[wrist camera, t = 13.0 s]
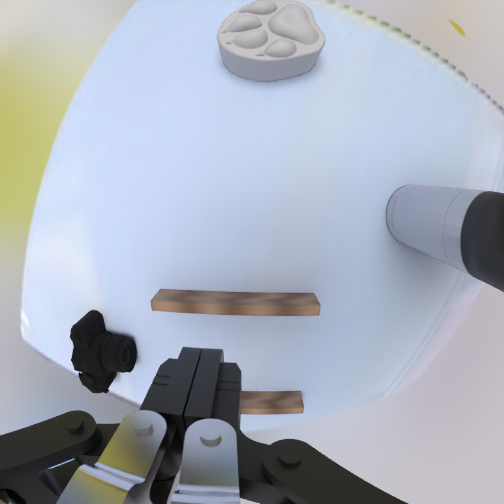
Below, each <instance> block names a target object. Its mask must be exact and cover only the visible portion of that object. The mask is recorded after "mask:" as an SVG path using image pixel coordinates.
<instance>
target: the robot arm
mask: <svg viewBox="0 0 504 504" xmlns="http://www.w3.org/2000/svg"><path fill="white" fill-rule="evenodd" d="M386 219H387V225H388V228H389V230H390V232H391V234H392V235H393V236H394V237H395V239H396V240H398V241H400V242H401V243H404V244H406V245H408V246H410V247H413V248H414V249H417V250H419V251H421V252H423V253H426V254H428V255H430V256H432V257H434V258H436V259H438V260H441V261H443V262H445V263H447V264H449V265H451V266H453V267H455V268H457V269H459V270H461V271H463V272H465V273H467V274H469V275H471V276H473V277H475V278H477V279H479V280H481V281H483V282H485V283H487V284H490V285H491V286H493V287H495V288H497V289H499V290H501V291H503V292H504V194H503V193H499V192H491V191H481V190H470V189H460V188H448V187H435V186H420V185H406V186H403V187H401V188H399V189H398V190H396V192H395V193H394V194H393V195H392V197H391V198H390V200H389V203H388V206H387V212H386ZM240 417H241V370H240V369H239V367H238V365H237V364H236V363H225V362H224V354H223V349H207V348H204V349H202V348H191V347H183V348H182V350H181V353H180V355H179V357H178V359H171V358H169V359H168V360H166V361H165V362H164V363H163V364H162V365H160V367H159V369H158V371H157V373H156V376H155V378H154V380H153V383H152V384H151V386H150V388H149V390H148V393H147V395H146V397H145V399H144V401H143V403H142V405H141V408H140V410H139V411H135V412H132V413H130V414H128V415H127V416H126V417H125V418H124V419H123V420H122V422H121V423H119V424H96V422H95V420H94V418H93V417H92V416H91V415H90V414H88V413H87V412H84V411H70V412H67V413H64V414H62V415H59V416H56V417H54V418H51V419H48V420H46V421H43V422H40V423H37V424H34V425H31V426H29V427H26V428H23V429H20V430H17V431H14V432H10V433H7V434H4V435H0V504H240V498H243V499H246V500H249V501H253V502H257V503H260V504H408V503H406V502H404V501H402V500H400V499H397V498H396V497H393V496H392V495H390V494H388V493H386V492H384V491H382V490H380V489H378V488H377V487H375V486H373V485H371V484H370V483H368V482H366V481H364V480H363V479H361V478H359V477H358V476H356V475H354V474H353V473H351V472H349V471H348V470H346V469H345V468H343V467H341V466H340V465H338V464H337V463H335V462H334V461H332V460H331V459H329V458H328V457H326V456H325V455H323V454H322V453H320V452H319V451H317V450H316V449H315V448H313V447H312V446H310V445H309V444H307V443H306V442H303V441H300V440H295V439H284V440H279V441H277V442H274V443H272V444H271V445H267V444H263V443H259V442H256V441H253V440H251V439H249V438H248V437H246V436H245V435H244V434H243V433H242V432H241V430H240ZM73 458H74V459H75V460H72V461H70V462H68V463H65V464H62V465H60V466H57V467H55V468H52V469H47V468H50V467H52V466H55V465H58V464H60V463H63V462H65V461H68V460H70V459H73ZM180 467H181V468H180ZM178 483H179V487H178V490H177V491H176V489H177V486H178Z"/></svg>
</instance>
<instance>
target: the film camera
mask: <svg viewBox="0 0 504 504" xmlns="http://www.w3.org/2000/svg"><path fill="white" fill-rule="evenodd" d="M70 338H71V340H72V341H73V345H74V349H73V353H72V359H71V361H72V363H73V366H74V370H76V371H79V378H80V380H81V382H82V384H83V385H84V386H86V387H87V388H88V389H89V390H90V391H91V392H92V393H102V392H104V393H107V392H108V391H109V390H108V388H109V386H110V385H111V383H112V382H113V380H114V379H115V377H116V375H117V374H116V371H117V372H122V373H124V372H131V371H132V370H133V368H134V366H135V363H136V353H137V351H136V346H135V343H134V341H133V340H130V339H127V338H126V337H119V336H116V335H112V334H111V333H107V332H106V329H105V324H104V319H103V316H102V314H101V313H99V312H98V311H94V310H92V311H90V312H88V313H87V314H86V315H85V316H84V317H83V318H82V319H80V320H79V321H78V322H77V323H76V324H74V325H73V327H72V328H71V334H70ZM80 372H82V374H81V373H80Z"/></svg>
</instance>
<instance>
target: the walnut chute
mask: <svg viewBox="0 0 504 504" xmlns="http://www.w3.org/2000/svg"><path fill="white" fill-rule="evenodd" d="M151 307H152V310H153V311H166V312H180V313H197V314H218V315H250V316H318V315H319V313H320V304H319V302H318V300H317V298H316V296H315V294H314V293H251V292H215V291H190V290H170V289H160V290H159V291H158V293H157V294H156V295H155V296H154V297H153V298H152V300H151ZM303 410H304V405H303V400H302V395H301V391H283V392H247V391H241V414H297V413H303Z"/></svg>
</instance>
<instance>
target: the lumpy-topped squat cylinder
mask: <svg viewBox="0 0 504 504" xmlns="http://www.w3.org/2000/svg"><path fill="white" fill-rule="evenodd" d="M217 40H218V44H219V48H220V52H221V56H222V60H223V63H224V65H225V67H226V68H227V69H228V70H229V71H230V72H232V73H234V74H235V75H237V76H239V77H242V78H245V79H249V80H254V81H260V82H271V81H277V80H283V79H287V78H291V77H295V76H298V75H302V74H304V73H307V72H308V71H310V70H311V69H312V67H313V66H314V64H315V62H316V60H317V58H318V56H319V54H320V52H321V50H322V48H323V47H324V44H325V36H324V34H323V32H322V31H321V30H320V28H319V27H318V26H317V24H316V22H315V20H314V17H313V13H312V11H311V9H310V8H309V7H308V6H307V5H305V4H303V3H301V2H298V1H295V0H257V1H254V2H253V3H251V4H249V5H246V6H243V7H242V8H240V9H238V10H237V11H235V12H234V13H232V14H231V15H230V16H229V17H227V18H226V19H225V20H224V22H223V23H222V25H221V26H220V28H219V31H218V34H217Z"/></svg>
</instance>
